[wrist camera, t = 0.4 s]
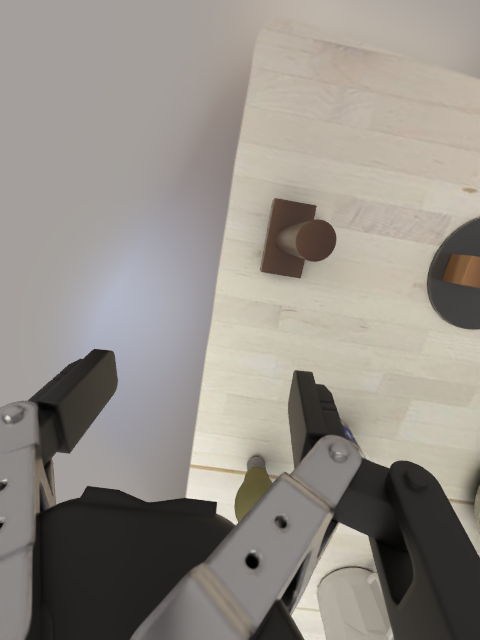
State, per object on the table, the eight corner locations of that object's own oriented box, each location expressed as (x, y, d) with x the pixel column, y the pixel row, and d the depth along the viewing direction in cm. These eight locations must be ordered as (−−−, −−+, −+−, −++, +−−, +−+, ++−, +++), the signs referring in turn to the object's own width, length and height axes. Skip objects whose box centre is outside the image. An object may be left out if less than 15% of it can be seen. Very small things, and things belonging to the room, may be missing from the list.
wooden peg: (259, 268, 33) (273, 290, 19) (271, 201, 31) (296, 173, 17) (295, 274, 33) (333, 300, 19) (309, 208, 31) (363, 186, 17)
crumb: (441, 280, 32) (461, 284, 30) (451, 254, 32) (472, 255, 29) (466, 284, 33) (488, 289, 30) (476, 258, 32) (500, 260, 29)
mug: (365, 616, 49) (396, 709, 39) (306, 603, 48) (323, 695, 38) (401, 561, 45) (444, 648, 36) (338, 546, 44) (365, 631, 35)
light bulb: (231, 472, 40) (228, 545, 31) (240, 439, 39) (241, 505, 29) (269, 479, 41) (278, 554, 31) (280, 447, 39) (293, 515, 30)
